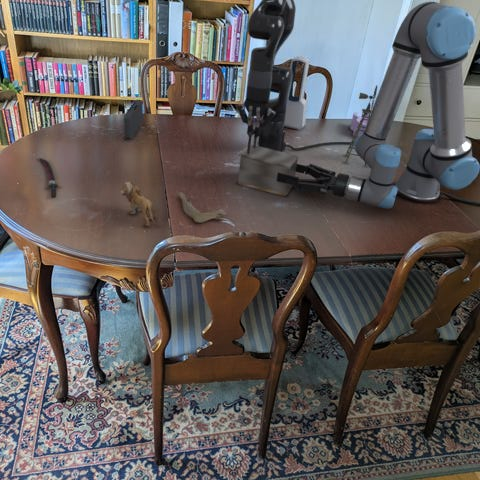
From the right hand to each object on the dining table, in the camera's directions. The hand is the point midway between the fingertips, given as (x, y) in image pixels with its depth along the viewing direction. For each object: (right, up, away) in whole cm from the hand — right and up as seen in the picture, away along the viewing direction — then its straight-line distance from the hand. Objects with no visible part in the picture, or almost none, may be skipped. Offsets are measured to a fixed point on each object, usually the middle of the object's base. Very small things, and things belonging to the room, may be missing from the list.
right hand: (282, 170), depth 157 cm
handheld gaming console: (-58, +22, +36) cm, 72 cm away
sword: (-77, -3, -6) cm, 77 cm away
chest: (-5, -4, +5) cm, 8 cm away
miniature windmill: (+32, +8, +30) cm, 45 cm away
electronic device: (+9, +29, +59) cm, 66 cm away
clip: (+43, +25, +59) cm, 77 cm away
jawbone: (-26, -14, -14) cm, 33 cm away
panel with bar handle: (-5, +5, -1) cm, 7 cm away
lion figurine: (-44, -17, -21) cm, 51 cm away
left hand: (-10, +11, -2) cm, 15 cm away
